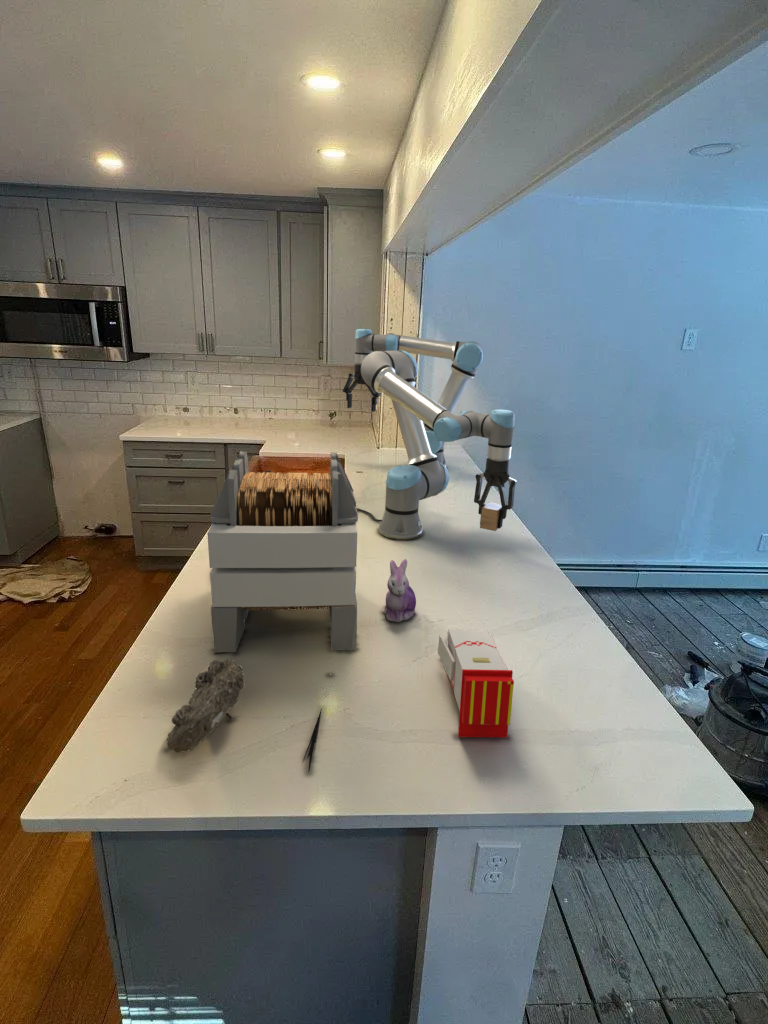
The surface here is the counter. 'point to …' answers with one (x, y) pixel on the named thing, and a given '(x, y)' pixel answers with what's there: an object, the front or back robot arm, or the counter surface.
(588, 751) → the counter surface
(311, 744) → the feather
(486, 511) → the brown block
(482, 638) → the toy
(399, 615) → the figurine
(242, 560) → the record storage crate
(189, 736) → the fossil
